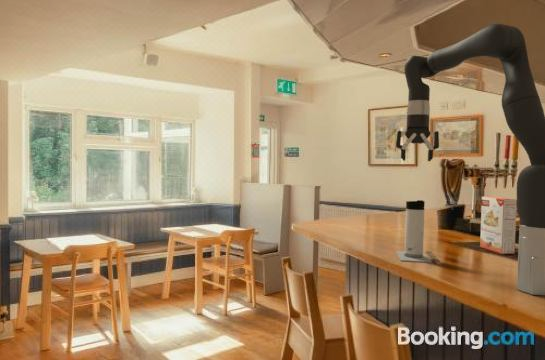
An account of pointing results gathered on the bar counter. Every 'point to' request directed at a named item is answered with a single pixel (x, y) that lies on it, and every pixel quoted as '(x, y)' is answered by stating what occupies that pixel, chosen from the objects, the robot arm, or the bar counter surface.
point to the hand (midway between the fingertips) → (416, 160)
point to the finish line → (434, 258)
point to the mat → (410, 259)
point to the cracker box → (498, 224)
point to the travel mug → (414, 229)
